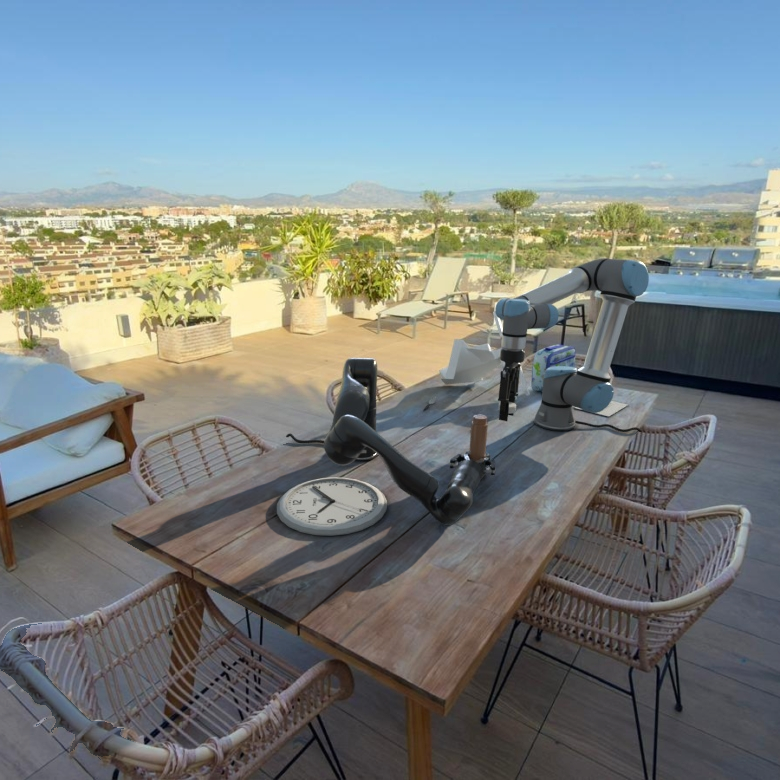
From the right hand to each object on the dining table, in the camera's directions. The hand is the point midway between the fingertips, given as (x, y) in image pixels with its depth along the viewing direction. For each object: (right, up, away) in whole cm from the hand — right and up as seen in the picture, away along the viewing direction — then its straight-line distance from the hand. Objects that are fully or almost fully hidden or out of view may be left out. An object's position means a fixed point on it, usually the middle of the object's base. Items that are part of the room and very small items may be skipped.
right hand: (506, 417), depth 172 cm
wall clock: (-54, -23, -30) cm, 66 cm away
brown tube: (-12, -17, -11) cm, 24 cm away
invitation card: (+53, +2, +54) cm, 76 cm away
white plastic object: (+3, +8, +71) cm, 71 cm away
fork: (-22, +2, +51) cm, 55 cm away
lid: (0, +4, -1) cm, 4 cm away
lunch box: (+39, +9, +78) cm, 87 cm away
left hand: (-11, -11, -10) cm, 19 cm away
